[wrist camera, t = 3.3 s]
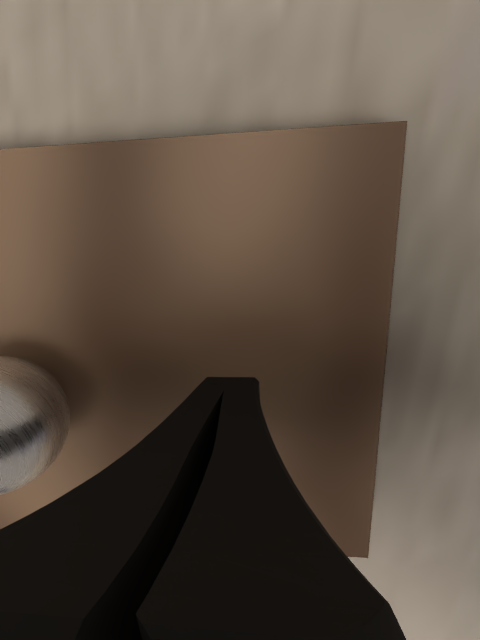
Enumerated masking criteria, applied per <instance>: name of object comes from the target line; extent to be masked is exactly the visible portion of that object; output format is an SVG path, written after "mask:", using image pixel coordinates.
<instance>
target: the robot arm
mask: <svg viewBox="0 0 480 640" xmlns="http://www.w3.org/2000/svg"><path fill="white" fill-rule="evenodd" d="M0 640H406V638H405V636H404V634H403V632H402V630H401V627H400V625H399V623H398V621H397V619H396V617H395V615H394V613H393V611H392V609H391V606H390V604H389V603H388V602H387V601H386V600H385V599H384V597H383V596H382V595H381V594H380V593H379V592H378V591H377V590H376V589H375V588H374V587H373V586H372V585H371V583H370V582H369V581H368V580H367V579H366V578H365V577H364V576H363V575H362V573H361V572H360V571H359V570H358V569H357V568H356V567H355V565H354V564H353V563H352V562H351V561H350V560H349V558H348V557H347V556H346V555H345V553H344V552H343V551H342V550H341V549H340V547H339V546H338V545H337V544H336V542H335V541H334V540H333V539H332V537H331V536H330V535H329V533H328V532H327V531H326V529H325V528H324V526H323V525H322V524H321V522H320V521H319V519H318V518H317V517H316V515H315V514H314V512H313V511H312V510H311V508H310V507H309V505H308V504H307V503H306V501H305V499H304V498H303V496H302V495H301V493H300V491H299V490H298V488H297V487H296V485H295V483H294V482H293V480H292V478H291V476H290V474H289V473H288V471H287V469H286V467H285V465H284V463H283V461H282V459H281V457H280V455H279V453H278V451H277V449H276V446H275V444H274V442H273V440H272V437H271V435H270V432H269V430H268V427H267V424H266V421H265V418H264V415H263V412H262V408H261V404H260V388H259V381H258V380H257V379H256V378H255V377H206V378H205V379H204V380H203V381H202V382H201V383H200V384H199V385H198V386H197V387H196V388H195V389H194V391H193V392H192V393H191V394H190V395H189V396H188V397H187V398H186V399H185V400H184V401H183V402H182V403H181V404H180V405H179V406H178V407H177V408H176V409H175V410H174V411H173V412H172V413H171V414H170V415H169V416H168V417H167V418H166V419H165V420H164V421H163V422H162V423H161V424H159V425H158V426H157V427H156V428H155V429H154V430H153V431H152V432H150V433H149V434H148V435H147V436H146V437H145V438H144V439H142V440H141V441H140V442H139V443H138V444H137V445H135V446H134V447H133V448H132V449H130V450H129V451H128V452H127V453H125V454H124V455H123V456H121V457H120V458H119V459H117V460H116V461H115V462H113V463H112V464H110V465H109V466H108V467H106V468H105V469H103V470H102V471H101V472H99V473H98V474H96V475H95V476H93V477H92V478H90V479H88V480H87V481H85V482H84V483H82V484H80V485H79V486H77V487H75V488H74V489H72V490H71V491H69V492H67V493H66V494H64V495H63V496H61V497H59V498H58V499H56V500H54V501H53V502H51V503H49V504H47V505H46V506H44V507H42V508H40V509H38V510H36V511H35V512H33V513H31V514H29V515H27V516H25V517H23V518H21V519H20V520H18V521H16V522H14V523H12V524H10V525H8V526H6V527H4V528H2V529H0Z"/></svg>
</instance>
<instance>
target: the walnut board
mask: <svg viewBox="0 0 480 640" xmlns="http://www.w3.org/2000/svg"><path fill="white" fill-rule="evenodd" d="M406 128H407V121H399V122H385V123H370V124H356V125H341V126H327V127H313V128H298V129H284V130H270V131H255V132H241V133H226V134H212V135H198V136H183V137H169V138H155V139H140V140H126V141H111V142H97V143H83V144H68V145H54V146H39V147H25V148H11V149H0V356H8V357H15V358H21V359H24V360H27V361H30V362H32V363H34V364H36V365H38V366H40V367H42V368H43V369H45V370H46V371H48V372H49V373H50V374H51V375H52V376H53V377H54V378H55V379H56V380H57V382H58V383H59V384H60V386H61V387H62V389H63V391H64V393H65V395H66V397H67V400H68V405H69V410H70V426H69V431H68V435H67V439H66V441H65V444H64V446H63V448H62V450H61V452H60V454H59V455H58V457H57V458H56V460H55V461H54V462H53V463H52V465H51V466H50V467H49V468H48V469H47V470H46V471H45V472H44V473H42V474H41V475H40V476H39V477H38V478H37V479H35V480H33V481H32V482H30V483H29V484H27V485H26V486H23V487H21V488H19V489H17V490H15V491H12V492H9V493H5V494H2V495H0V529H2V528H4V527H6V526H8V525H10V524H12V523H14V522H16V521H18V520H20V519H21V518H23V517H25V516H27V515H29V514H31V513H33V512H35V511H36V510H38V509H40V508H42V507H44V506H46V505H47V504H49V503H51V502H53V501H54V500H56V499H58V498H59V497H61V496H63V495H64V494H66V493H67V492H69V491H71V490H72V489H74V488H75V487H77V486H79V485H80V484H82V483H84V482H85V481H87V480H88V479H90V478H92V477H93V476H95V475H96V474H98V473H99V472H101V471H102V470H103V469H105V468H106V467H108V466H109V465H110V464H112V463H113V462H115V461H116V460H117V459H119V458H120V457H121V456H123V455H124V454H125V453H127V452H128V451H129V450H130V449H132V448H133V447H134V446H135V445H137V444H138V443H139V442H140V441H141V440H142V439H144V438H145V437H146V436H147V435H148V434H149V433H150V432H152V431H153V430H154V429H155V428H156V427H157V426H158V425H159V424H161V423H162V422H163V421H164V420H165V419H166V418H167V417H168V416H169V415H170V414H171V413H172V412H173V411H174V410H175V409H176V408H177V407H178V406H179V405H180V404H181V403H182V402H183V401H184V400H185V399H186V398H187V397H188V396H189V395H190V394H191V393H192V392H193V391H194V389H195V388H196V387H197V386H198V385H199V384H200V383H201V382H202V381H203V380H204V379H205V378H206V377H255V378H256V379H257V380H258V381H259V388H260V404H261V408H262V412H263V415H264V418H265V421H266V424H267V427H268V430H269V432H270V435H271V437H272V440H273V442H274V444H275V446H276V449H277V451H278V453H279V455H280V457H281V459H282V461H283V463H284V465H285V467H286V469H287V471H288V473H289V474H290V476H291V478H292V480H293V482H294V483H295V485H296V487H297V488H298V490H299V491H300V493H301V495H302V496H303V498H304V499H305V501H306V503H307V504H308V505H309V507H310V508H311V510H312V511H313V512H314V514H315V515H316V517H317V518H318V519H319V521H320V522H321V524H322V525H323V526H324V528H325V529H326V531H327V532H328V533H329V535H330V536H331V537H332V539H333V540H334V541H335V542H336V544H337V545H338V546H339V547H340V549H341V550H342V551H343V552H344V553H345V555H346V556H347V557H363V558H368V553H369V542H370V530H371V519H372V508H373V497H374V486H375V475H376V463H377V452H378V441H379V430H380V419H381V407H382V396H383V385H384V374H385V363H386V352H387V340H388V329H389V318H390V307H391V296H392V285H393V273H394V262H395V251H396V240H397V229H398V218H399V206H400V195H401V184H402V173H403V162H404V151H405V139H406Z"/></svg>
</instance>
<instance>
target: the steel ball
mask: <svg viewBox="0 0 480 640" xmlns="http://www.w3.org/2000/svg"><path fill="white" fill-rule="evenodd" d="M69 426H70V410H69V405H68V400H67V397H66V395H65V393H64V391H63V389H62V387H61V386H60V384H59V383H58V382H57V380H56V379H55V378H54V377H53V376H52V375H51V374H50V373H49V372H48V371H46V370H45V369H43V368H42V367H40V366H38V365H36V364H34V363H32V362H30V361H27V360H24V359H21V358H15V357H8V356H0V495H2V494H5V493H9V492H12V491H15V490H17V489H19V488H21V487H23V486H26V485H27V484H29V483H30V482H32V481H33V480H35V479H37V478H38V477H39V476H40V475H41V474H42V473H44V472H45V471H46V470H47V469H48V468H49V467H50V466H51V465H52V463H53V462H54V461H55V460H56V458H57V457H58V455H59V454H60V452H61V450H62V448H63V446H64V444H65V441H66V439H67V435H68V431H69Z"/></svg>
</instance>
